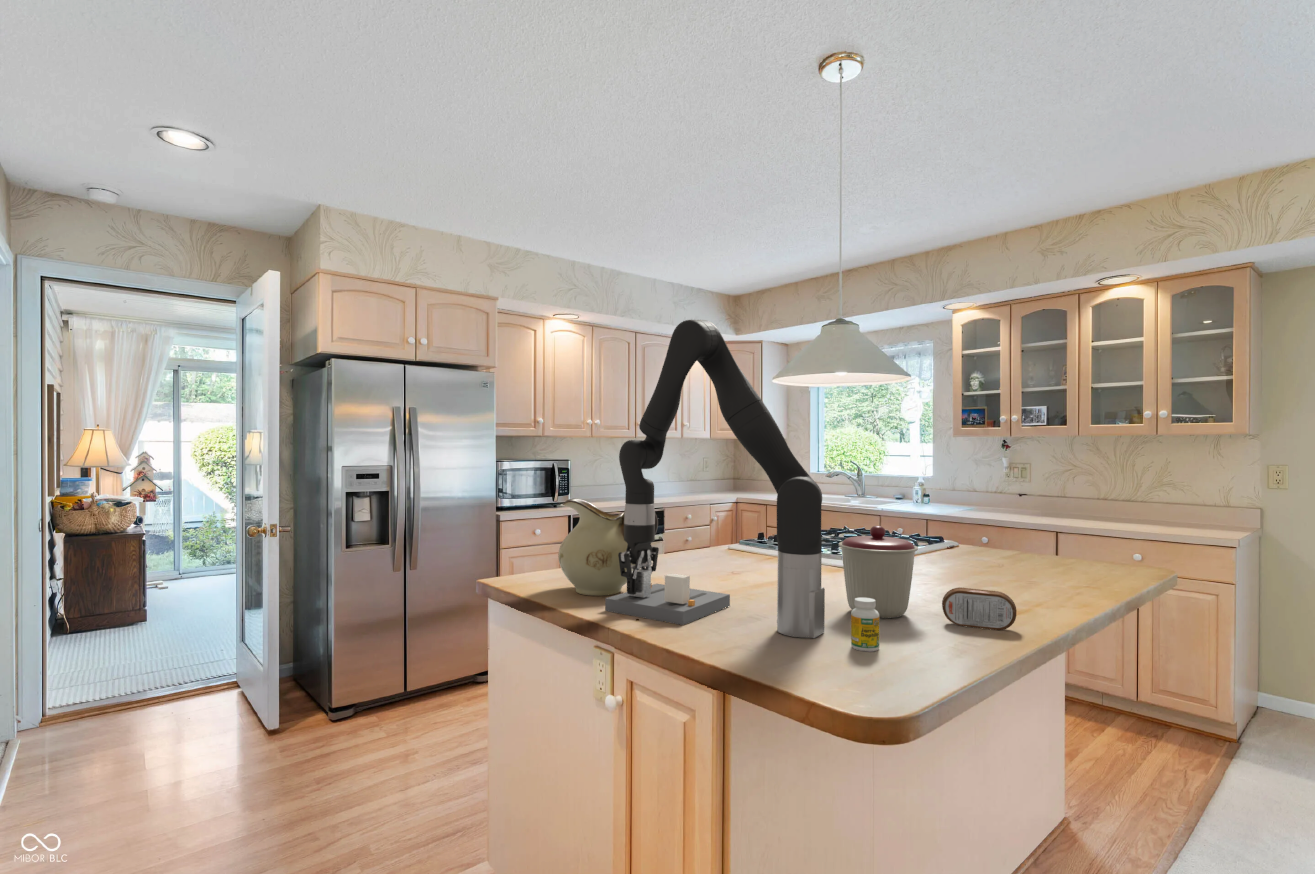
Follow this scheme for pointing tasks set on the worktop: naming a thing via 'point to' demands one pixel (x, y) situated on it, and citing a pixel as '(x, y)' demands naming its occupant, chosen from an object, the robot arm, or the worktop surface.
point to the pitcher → (594, 550)
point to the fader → (677, 588)
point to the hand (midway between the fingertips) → (638, 591)
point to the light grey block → (642, 583)
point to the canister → (879, 571)
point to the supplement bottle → (865, 625)
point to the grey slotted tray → (668, 605)
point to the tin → (979, 608)
